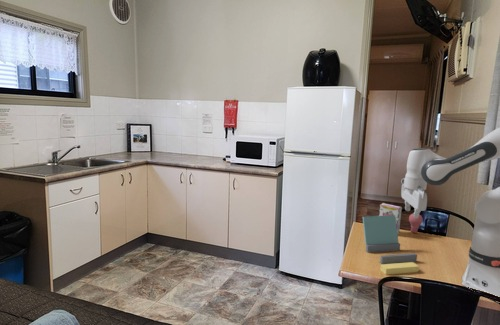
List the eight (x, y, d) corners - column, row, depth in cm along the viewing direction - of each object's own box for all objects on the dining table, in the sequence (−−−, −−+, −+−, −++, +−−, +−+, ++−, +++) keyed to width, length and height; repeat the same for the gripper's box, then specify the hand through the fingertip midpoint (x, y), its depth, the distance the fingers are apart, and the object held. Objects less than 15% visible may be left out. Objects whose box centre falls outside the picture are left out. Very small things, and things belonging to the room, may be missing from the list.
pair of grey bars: (416, 261, 153) (417, 254, 152) (381, 264, 149) (382, 257, 149) (397, 249, 166) (398, 242, 166) (365, 251, 163) (366, 244, 162)
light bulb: (422, 233, 189) (424, 213, 187) (418, 236, 184) (420, 216, 182) (410, 229, 194) (412, 210, 192) (405, 232, 189) (407, 213, 187)
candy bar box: (376, 231, 191) (379, 204, 188) (380, 228, 195) (382, 202, 192) (396, 236, 184) (399, 208, 181) (399, 233, 187) (402, 206, 185)
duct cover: (395, 215, 168) (393, 215, 169) (363, 216, 165) (362, 216, 166) (398, 242, 166) (397, 242, 167) (366, 244, 162) (365, 244, 163)
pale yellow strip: (418, 272, 143) (418, 266, 142) (385, 275, 140) (386, 268, 139) (412, 268, 147) (412, 262, 146) (380, 270, 144) (380, 264, 143)
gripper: (433, 190, 132) (428, 222, 134) (414, 179, 152) (410, 207, 154) (417, 189, 132) (412, 221, 135) (400, 178, 152) (396, 206, 155)
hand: (411, 213), depth 145 cm, fingers open, 8 cm apart
